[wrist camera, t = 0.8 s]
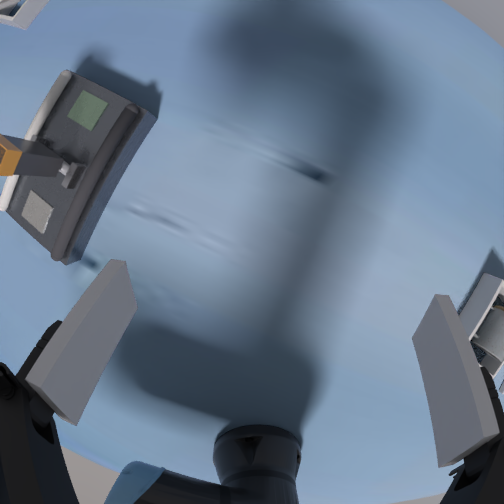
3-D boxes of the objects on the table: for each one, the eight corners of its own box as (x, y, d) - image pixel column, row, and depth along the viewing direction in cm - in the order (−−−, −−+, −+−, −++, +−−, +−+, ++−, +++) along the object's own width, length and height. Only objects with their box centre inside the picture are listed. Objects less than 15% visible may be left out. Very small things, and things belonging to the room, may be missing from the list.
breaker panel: (80, 259, 37) (55, 269, 31) (16, 204, 35) (-11, 206, 29) (157, 119, 34) (140, 104, 28) (79, 78, 32) (57, 63, 26)
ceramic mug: (503, 314, 40) (528, 327, 32) (482, 350, 41) (505, 367, 33) (480, 290, 39) (508, 303, 31) (456, 331, 40) (482, 349, 33)
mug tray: (478, 369, 42) (491, 380, 37) (442, 340, 40) (458, 352, 35) (513, 311, 40) (529, 319, 35) (484, 272, 38) (502, 279, 33)
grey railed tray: (63, 262, 33) (55, 265, 31) (2, 207, 31) (-6, 207, 30) (143, 109, 30) (138, 105, 28) (68, 71, 29) (62, 66, 27)
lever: (69, 182, 31) (0, 179, 18) (38, 159, 30) (-28, 151, 18) (78, 163, 31) (11, 153, 18) (47, 141, 30) (-18, 127, 17)
